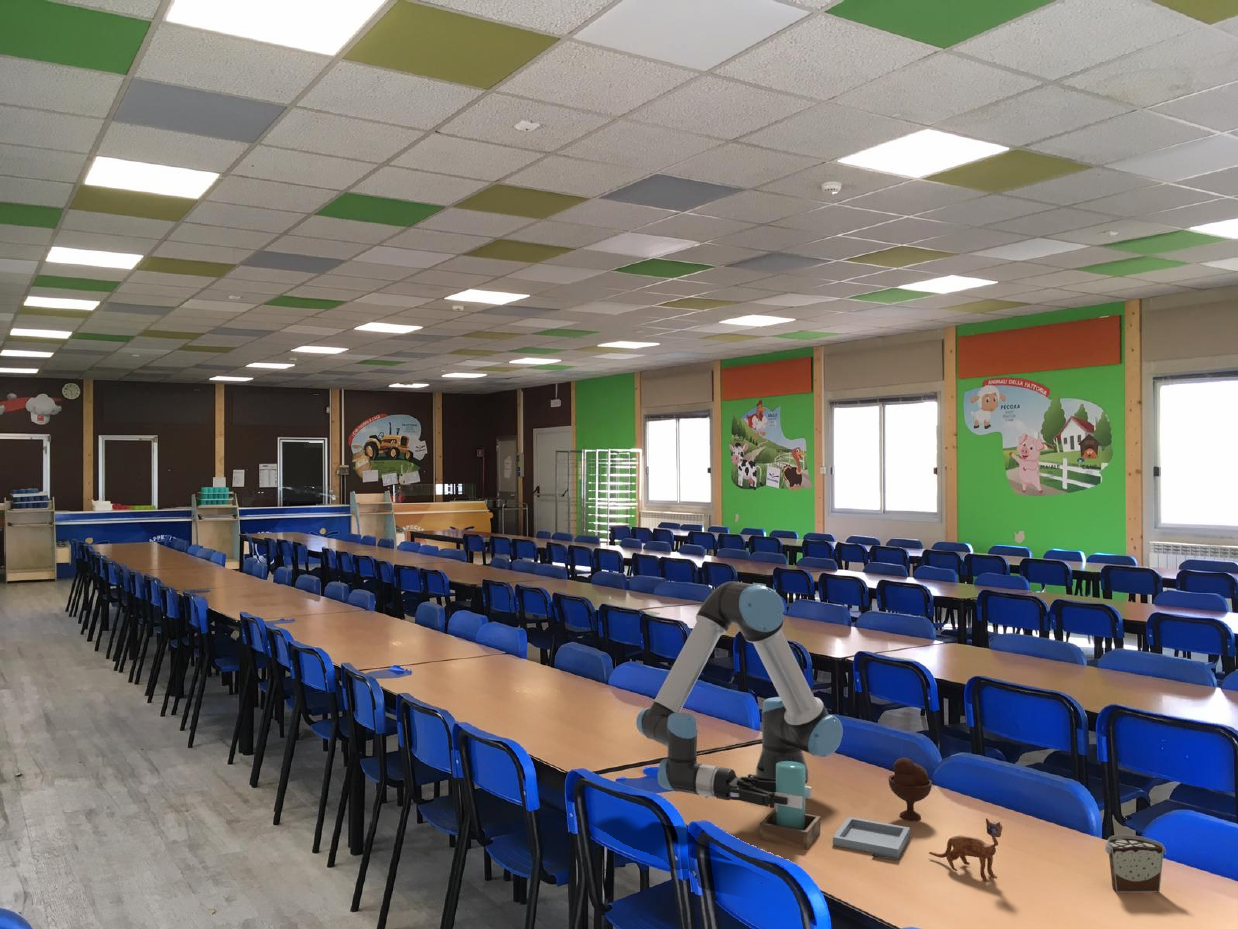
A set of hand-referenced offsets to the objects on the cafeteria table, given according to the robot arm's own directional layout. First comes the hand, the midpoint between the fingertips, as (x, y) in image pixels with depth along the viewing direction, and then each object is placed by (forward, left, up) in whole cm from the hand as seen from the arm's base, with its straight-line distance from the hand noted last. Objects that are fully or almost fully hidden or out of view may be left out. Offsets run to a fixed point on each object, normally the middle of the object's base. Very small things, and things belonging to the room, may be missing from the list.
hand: (806, 797), depth 219 cm
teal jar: (0, -4, -10) cm, 11 cm away
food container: (-10, +68, -11) cm, 70 cm away
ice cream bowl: (-29, +19, -11) cm, 36 cm away
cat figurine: (-2, +36, -11) cm, 37 cm away
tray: (-7, +14, -10) cm, 19 cm away
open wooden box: (0, -4, -10) cm, 11 cm away
